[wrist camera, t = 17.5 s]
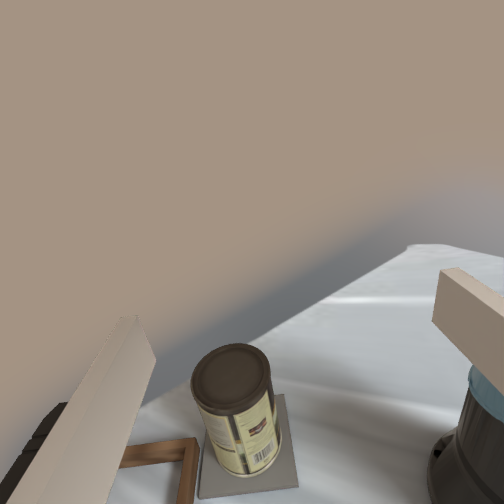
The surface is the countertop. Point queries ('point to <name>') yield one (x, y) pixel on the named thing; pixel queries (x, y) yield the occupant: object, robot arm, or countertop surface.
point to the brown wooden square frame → (168, 453)
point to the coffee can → (238, 408)
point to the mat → (273, 478)
